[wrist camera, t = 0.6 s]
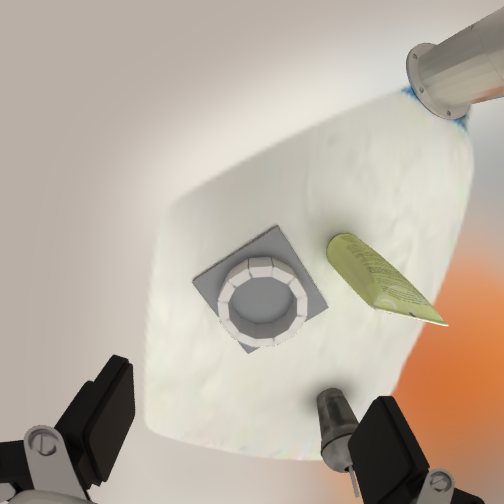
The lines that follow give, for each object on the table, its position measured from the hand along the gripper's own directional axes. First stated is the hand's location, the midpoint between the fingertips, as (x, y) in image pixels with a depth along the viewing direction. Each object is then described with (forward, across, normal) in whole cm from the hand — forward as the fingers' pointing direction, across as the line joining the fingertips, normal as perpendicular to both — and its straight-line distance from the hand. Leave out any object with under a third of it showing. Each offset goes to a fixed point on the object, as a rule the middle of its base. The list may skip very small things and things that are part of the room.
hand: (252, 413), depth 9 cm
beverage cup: (+28, -18, +23) cm, 41 cm away
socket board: (+28, -2, +6) cm, 29 cm away
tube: (+28, -12, -1) cm, 31 cm away
